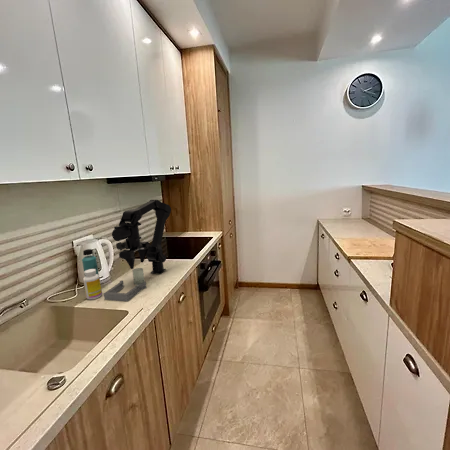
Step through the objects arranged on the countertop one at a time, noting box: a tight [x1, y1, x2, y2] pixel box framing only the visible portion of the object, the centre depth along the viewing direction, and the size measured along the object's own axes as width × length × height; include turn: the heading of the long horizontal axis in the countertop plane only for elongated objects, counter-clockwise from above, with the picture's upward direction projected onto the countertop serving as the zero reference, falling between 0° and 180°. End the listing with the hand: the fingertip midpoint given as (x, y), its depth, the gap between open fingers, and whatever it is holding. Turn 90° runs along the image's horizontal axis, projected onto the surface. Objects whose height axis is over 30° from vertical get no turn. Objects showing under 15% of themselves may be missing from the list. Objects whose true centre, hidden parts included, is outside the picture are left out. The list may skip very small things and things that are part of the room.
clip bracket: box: [103, 279, 147, 302], centre depth 122 cm, size 14×14×3 cm
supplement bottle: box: [82, 269, 103, 300], centre depth 119 cm, size 7×7×13 cm
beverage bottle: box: [81, 248, 100, 278], centre depth 128 cm, size 6×7×20 cm
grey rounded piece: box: [131, 267, 146, 286], centre depth 133 cm, size 5×5×7 cm
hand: (137, 265), depth 132 cm, fingers open, 9 cm apart
